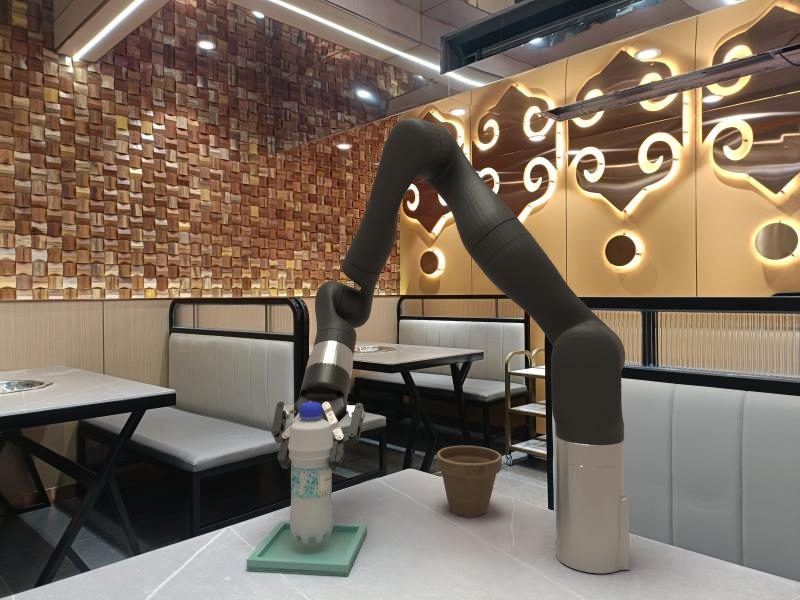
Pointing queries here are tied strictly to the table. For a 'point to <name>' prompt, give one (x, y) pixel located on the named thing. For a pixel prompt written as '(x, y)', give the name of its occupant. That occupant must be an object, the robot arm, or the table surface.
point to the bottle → (311, 475)
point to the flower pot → (468, 477)
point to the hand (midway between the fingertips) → (308, 466)
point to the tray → (309, 551)
